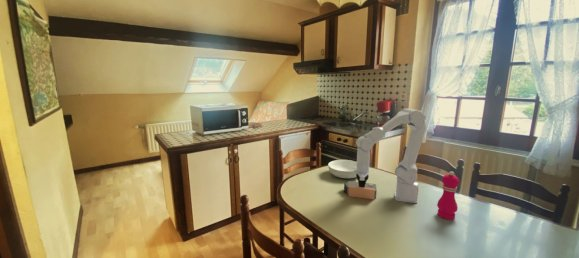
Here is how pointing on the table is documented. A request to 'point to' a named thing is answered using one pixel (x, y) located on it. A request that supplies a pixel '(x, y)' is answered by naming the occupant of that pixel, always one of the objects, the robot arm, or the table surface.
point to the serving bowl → (343, 168)
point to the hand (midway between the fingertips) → (361, 188)
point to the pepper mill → (448, 197)
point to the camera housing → (351, 183)
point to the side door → (361, 192)
